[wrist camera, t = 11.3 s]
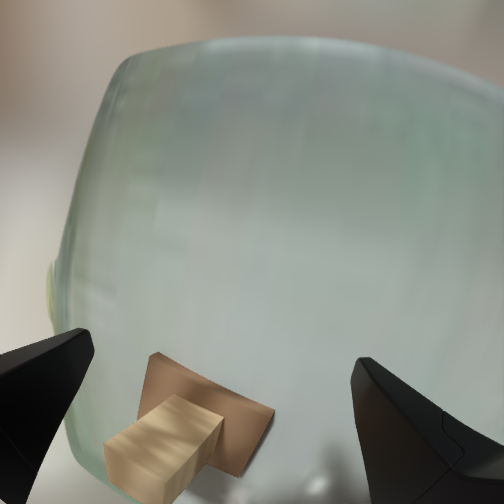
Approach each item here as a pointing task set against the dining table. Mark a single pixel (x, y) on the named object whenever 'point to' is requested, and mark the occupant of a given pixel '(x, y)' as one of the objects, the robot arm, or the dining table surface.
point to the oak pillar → (162, 451)
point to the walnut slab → (213, 399)
